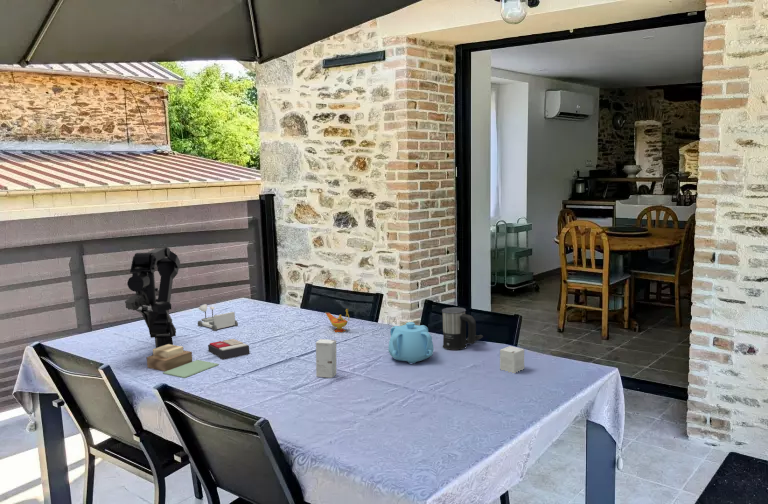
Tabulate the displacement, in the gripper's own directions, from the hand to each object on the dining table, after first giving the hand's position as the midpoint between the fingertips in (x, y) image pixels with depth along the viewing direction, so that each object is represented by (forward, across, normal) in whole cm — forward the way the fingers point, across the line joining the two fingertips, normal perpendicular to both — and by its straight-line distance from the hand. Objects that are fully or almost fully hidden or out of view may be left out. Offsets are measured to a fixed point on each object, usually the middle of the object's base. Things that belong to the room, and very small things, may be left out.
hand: (150, 327), depth 234 cm
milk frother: (+13, +95, +69) cm, 119 cm away
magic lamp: (+13, +37, +67) cm, 78 cm away
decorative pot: (+13, +85, +45) cm, 97 cm away
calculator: (+14, +18, +21) cm, 31 cm away
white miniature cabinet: (+13, +68, +16) cm, 72 cm away
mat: (+13, +20, 0) cm, 24 cm away
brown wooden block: (+13, +10, 0) cm, 16 cm away
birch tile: (+9, +9, 0) cm, 13 cm away
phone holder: (+14, -18, +50) cm, 55 cm away
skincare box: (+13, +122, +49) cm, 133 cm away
